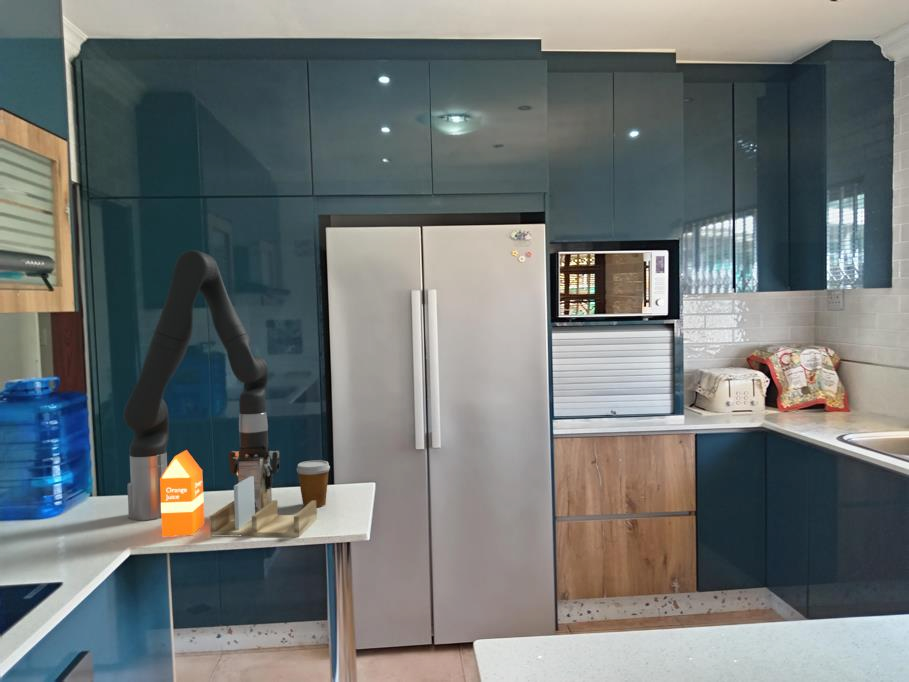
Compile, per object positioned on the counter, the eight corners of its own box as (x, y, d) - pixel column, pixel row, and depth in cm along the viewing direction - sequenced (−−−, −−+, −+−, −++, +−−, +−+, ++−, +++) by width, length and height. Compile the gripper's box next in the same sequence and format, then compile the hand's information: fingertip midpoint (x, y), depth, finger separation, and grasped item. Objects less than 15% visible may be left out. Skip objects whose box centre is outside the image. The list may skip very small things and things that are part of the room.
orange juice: (204, 524, 170) (202, 448, 169) (193, 535, 161) (190, 456, 160) (174, 525, 169) (171, 450, 169) (161, 536, 160) (158, 457, 160)
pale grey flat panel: (235, 529, 162) (233, 486, 161) (251, 517, 172) (250, 476, 171) (239, 529, 162) (237, 486, 161) (255, 517, 172) (253, 476, 171)
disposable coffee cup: (327, 509, 181) (326, 467, 180) (293, 510, 181) (292, 467, 180) (334, 500, 190) (333, 459, 190) (302, 500, 190) (300, 460, 190)
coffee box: (250, 508, 183) (248, 452, 183) (272, 508, 183) (270, 451, 183) (238, 518, 174) (236, 459, 174) (262, 518, 174) (260, 459, 174)
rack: (210, 535, 160) (210, 516, 160) (235, 518, 174) (234, 500, 174) (299, 536, 158) (298, 516, 158) (316, 519, 172) (316, 500, 172)
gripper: (222, 431, 175) (224, 492, 176) (273, 431, 174) (275, 492, 174) (234, 427, 182) (236, 485, 183) (283, 426, 181) (285, 485, 182)
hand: (255, 488), depth 179 cm, fingers open, 7 cm apart
